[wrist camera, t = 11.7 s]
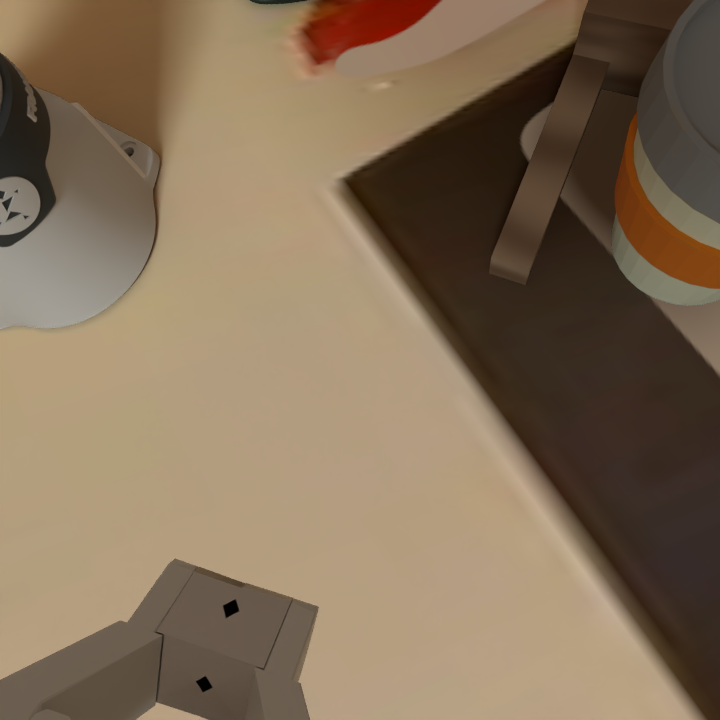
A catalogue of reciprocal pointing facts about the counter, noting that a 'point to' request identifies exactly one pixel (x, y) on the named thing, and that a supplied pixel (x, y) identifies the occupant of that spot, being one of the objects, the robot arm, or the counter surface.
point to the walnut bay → (581, 114)
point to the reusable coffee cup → (674, 168)
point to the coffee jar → (275, 1)
